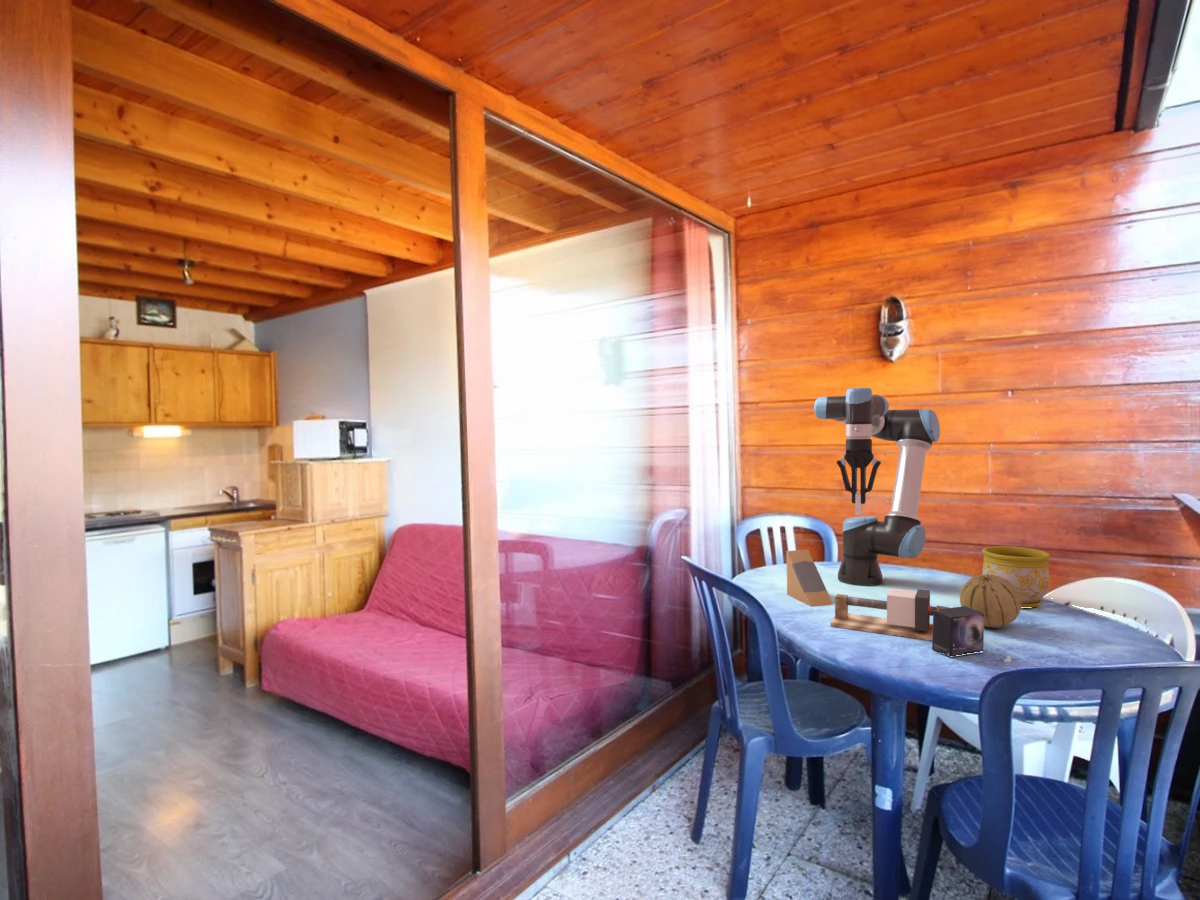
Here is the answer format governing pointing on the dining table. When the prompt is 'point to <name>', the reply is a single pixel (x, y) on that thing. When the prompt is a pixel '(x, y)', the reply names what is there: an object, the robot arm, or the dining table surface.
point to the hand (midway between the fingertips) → (858, 514)
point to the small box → (958, 630)
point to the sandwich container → (805, 579)
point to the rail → (874, 618)
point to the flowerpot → (1020, 570)
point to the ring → (922, 610)
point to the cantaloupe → (992, 599)
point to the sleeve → (901, 607)
